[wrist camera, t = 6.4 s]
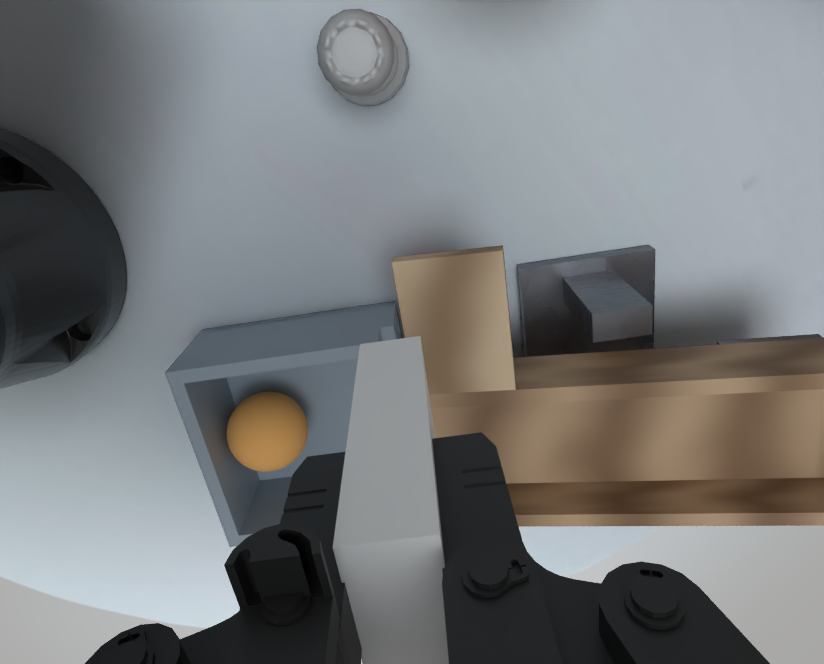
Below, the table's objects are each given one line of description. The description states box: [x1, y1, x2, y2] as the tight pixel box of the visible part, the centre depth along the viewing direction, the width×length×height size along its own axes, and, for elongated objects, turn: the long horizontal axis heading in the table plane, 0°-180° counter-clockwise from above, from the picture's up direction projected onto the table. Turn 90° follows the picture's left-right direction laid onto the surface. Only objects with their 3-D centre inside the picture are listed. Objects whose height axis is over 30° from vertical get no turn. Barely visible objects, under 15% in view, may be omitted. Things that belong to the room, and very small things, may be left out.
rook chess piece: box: [317, 9, 409, 106], centre depth 26 cm, size 4×4×8 cm
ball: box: [227, 392, 308, 472], centre depth 35 cm, size 5×5×5 cm
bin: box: [165, 301, 402, 547], centre depth 35 cm, size 13×13×6 cm
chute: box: [392, 246, 824, 526], centre depth 29 cm, size 22×16×6 cm
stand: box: [517, 245, 655, 357], centre depth 34 cm, size 8×15×7 cm, turn 9°
